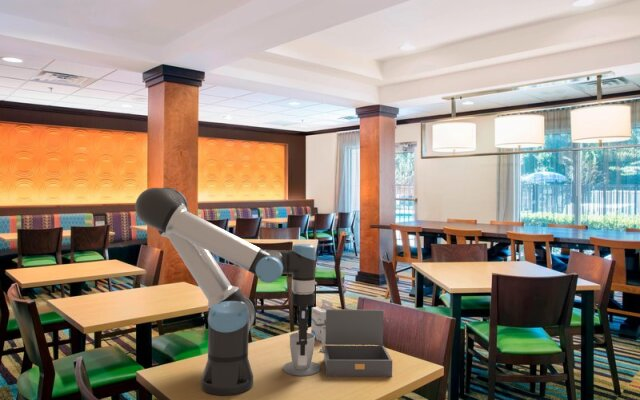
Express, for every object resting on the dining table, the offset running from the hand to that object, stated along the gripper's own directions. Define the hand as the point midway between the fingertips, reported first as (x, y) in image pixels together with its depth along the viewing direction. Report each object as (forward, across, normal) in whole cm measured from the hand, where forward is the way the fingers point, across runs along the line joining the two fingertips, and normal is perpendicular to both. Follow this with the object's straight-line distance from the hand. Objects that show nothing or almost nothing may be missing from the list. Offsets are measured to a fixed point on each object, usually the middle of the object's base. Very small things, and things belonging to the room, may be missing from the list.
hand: (301, 357), depth 152 cm
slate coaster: (+4, 0, 0) cm, 4 cm away
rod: (+4, +17, -11) cm, 21 cm away
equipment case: (+4, +1, -18) cm, 18 cm away
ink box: (+4, +32, -8) cm, 33 cm away
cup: (+3, 0, 0) cm, 3 cm away
